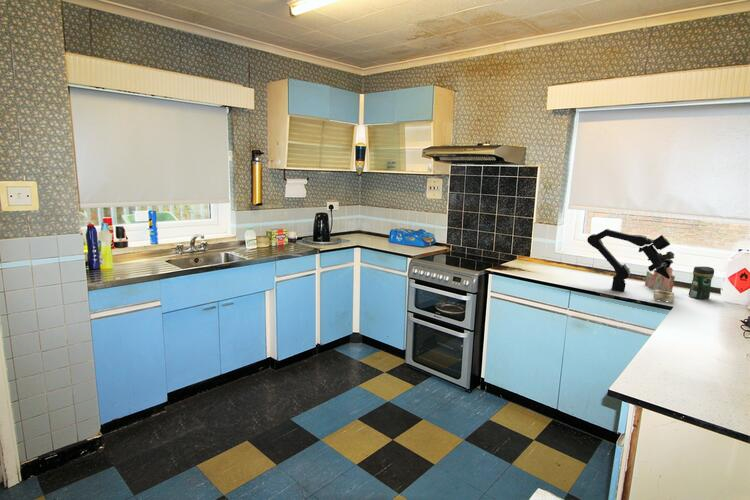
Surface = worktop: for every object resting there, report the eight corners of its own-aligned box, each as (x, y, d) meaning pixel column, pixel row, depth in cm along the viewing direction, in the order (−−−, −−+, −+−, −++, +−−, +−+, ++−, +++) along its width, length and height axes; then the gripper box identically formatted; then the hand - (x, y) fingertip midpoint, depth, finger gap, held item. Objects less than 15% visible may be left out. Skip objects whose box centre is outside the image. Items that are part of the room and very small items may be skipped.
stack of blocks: (644, 284, 273) (647, 266, 270) (655, 285, 272) (658, 266, 269) (659, 295, 252) (663, 274, 250) (671, 295, 251) (675, 275, 249)
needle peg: (662, 288, 240) (666, 267, 237) (662, 287, 243) (666, 266, 240) (668, 289, 239) (673, 268, 236) (668, 288, 241) (673, 267, 238)
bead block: (653, 300, 241) (655, 293, 240) (653, 296, 249) (654, 289, 248) (673, 303, 237) (674, 296, 236) (672, 299, 244) (673, 292, 243)
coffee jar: (700, 295, 254) (706, 265, 250) (711, 299, 246) (718, 268, 242) (685, 295, 253) (691, 264, 249) (695, 299, 245) (702, 268, 241)
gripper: (658, 248, 233) (677, 272, 227) (672, 245, 244) (691, 268, 238) (640, 259, 241) (658, 283, 235) (654, 255, 252) (672, 278, 246)
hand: (670, 278), depth 238 cm, fingers closed on needle peg, 3 cm apart
